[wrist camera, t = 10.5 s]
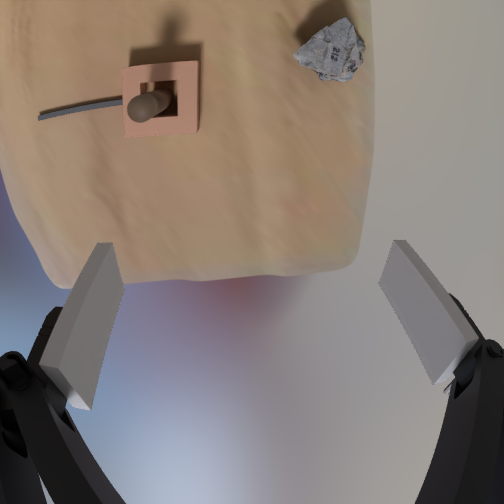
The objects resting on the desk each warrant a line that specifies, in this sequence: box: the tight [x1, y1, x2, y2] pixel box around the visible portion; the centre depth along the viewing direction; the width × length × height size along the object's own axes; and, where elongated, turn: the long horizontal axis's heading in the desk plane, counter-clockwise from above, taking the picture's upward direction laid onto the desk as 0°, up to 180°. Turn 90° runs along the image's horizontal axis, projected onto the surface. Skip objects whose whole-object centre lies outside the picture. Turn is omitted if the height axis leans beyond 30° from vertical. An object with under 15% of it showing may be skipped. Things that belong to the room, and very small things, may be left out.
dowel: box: [127, 88, 174, 123], centre depth 31 cm, size 3×3×12 cm
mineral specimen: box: [294, 16, 366, 82], centre depth 31 cm, size 10×8×10 cm
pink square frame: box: [122, 61, 200, 138], centre depth 34 cm, size 10×10×3 cm
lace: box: [38, 99, 123, 121], centre depth 34 cm, size 1×16×1 cm, turn 87°
